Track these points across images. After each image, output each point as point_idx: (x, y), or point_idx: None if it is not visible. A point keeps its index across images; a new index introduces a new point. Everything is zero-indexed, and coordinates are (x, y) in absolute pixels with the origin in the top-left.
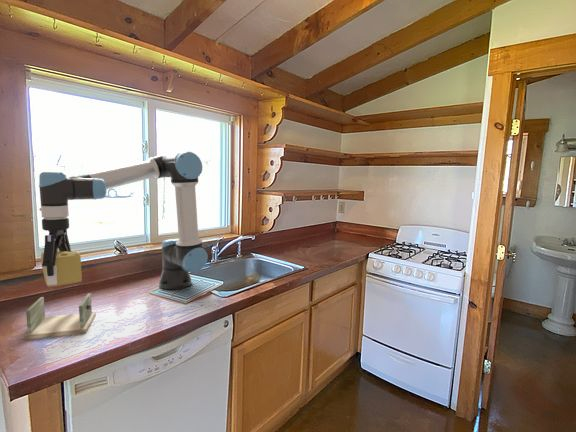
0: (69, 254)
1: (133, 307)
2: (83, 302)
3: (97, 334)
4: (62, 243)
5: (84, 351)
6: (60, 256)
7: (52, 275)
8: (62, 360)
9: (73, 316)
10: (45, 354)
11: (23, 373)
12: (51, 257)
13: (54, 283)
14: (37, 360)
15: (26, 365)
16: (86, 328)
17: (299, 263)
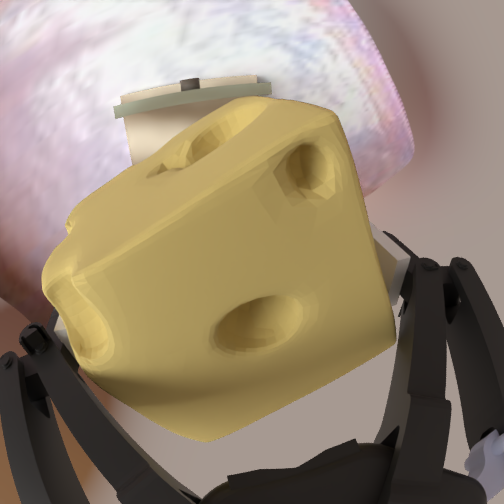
0: (284, 271)
1: (73, 9)
2: (231, 89)
3: (269, 43)
4: (160, 472)
5: (353, 59)
6: (352, 309)
7: (386, 232)
8: (377, 97)
9: (151, 152)
10: (346, 138)
11: (397, 153)
12: (486, 295)
13: None
14: (365, 145)
15: (376, 158)
16: (249, 75)
17: None
